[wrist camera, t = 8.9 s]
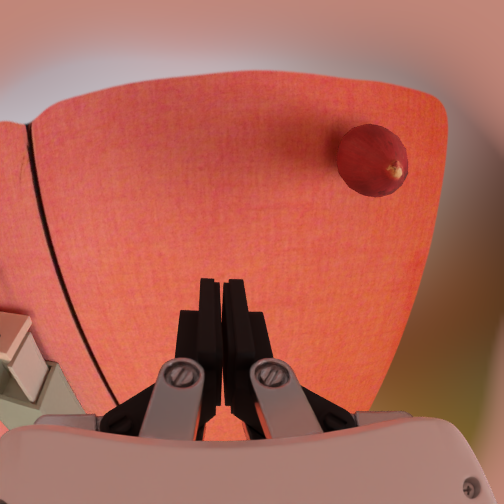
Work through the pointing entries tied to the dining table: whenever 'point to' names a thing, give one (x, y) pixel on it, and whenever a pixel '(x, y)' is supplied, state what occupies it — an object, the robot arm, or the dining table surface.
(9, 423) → the cabinet
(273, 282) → the dining table surface
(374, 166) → the onion
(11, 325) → the drawer
